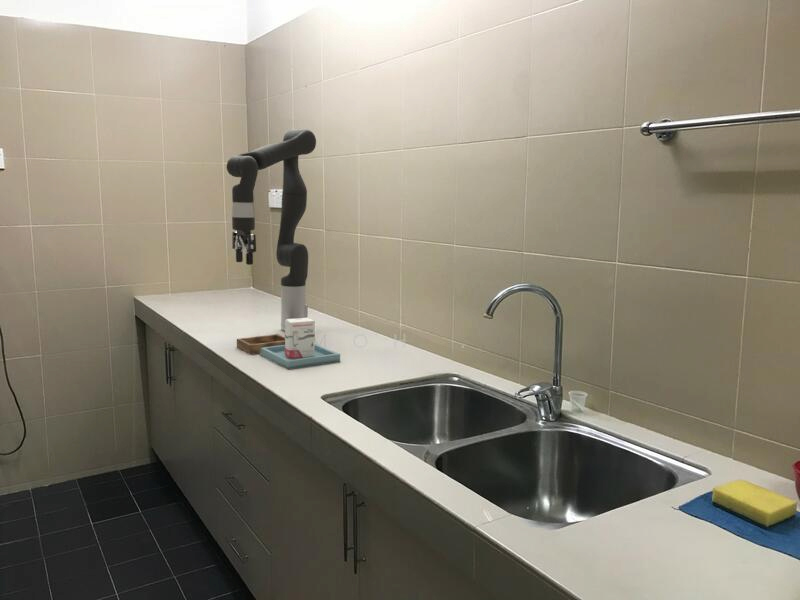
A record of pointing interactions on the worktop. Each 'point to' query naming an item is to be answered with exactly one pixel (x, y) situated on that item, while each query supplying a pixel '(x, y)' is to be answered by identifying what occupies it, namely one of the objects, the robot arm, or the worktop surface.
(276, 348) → the tray
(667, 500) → the worktop surface
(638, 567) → the worktop surface
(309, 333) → the ink box
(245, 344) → the holder
